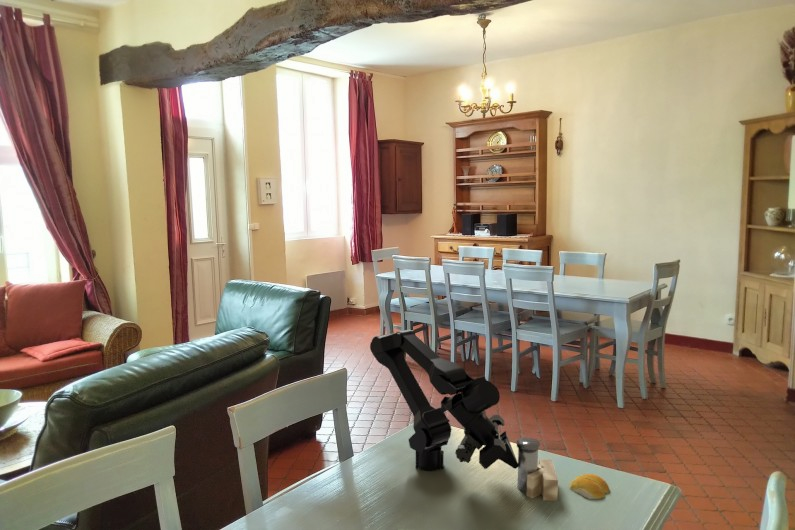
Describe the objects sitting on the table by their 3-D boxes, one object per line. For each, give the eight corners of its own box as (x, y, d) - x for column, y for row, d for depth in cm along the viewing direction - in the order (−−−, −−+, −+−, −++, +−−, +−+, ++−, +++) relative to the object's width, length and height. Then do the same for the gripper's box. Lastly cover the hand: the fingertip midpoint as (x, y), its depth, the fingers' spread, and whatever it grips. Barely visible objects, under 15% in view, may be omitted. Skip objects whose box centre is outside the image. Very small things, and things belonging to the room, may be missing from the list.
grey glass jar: (516, 492, 129) (517, 446, 128) (514, 481, 135) (515, 436, 133) (539, 494, 129) (541, 447, 128) (537, 482, 134) (538, 438, 133)
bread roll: (613, 492, 133) (614, 475, 132) (597, 507, 126) (598, 490, 126) (580, 480, 138) (580, 464, 138) (562, 494, 132) (563, 477, 131)
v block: (527, 499, 127) (527, 478, 126) (523, 477, 137) (523, 458, 136) (557, 501, 126) (557, 480, 125) (551, 479, 136) (551, 459, 135)
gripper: (448, 422, 142) (490, 469, 142) (441, 455, 124) (490, 509, 123) (481, 394, 140) (524, 442, 140) (479, 424, 122) (529, 478, 121)
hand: (516, 467), depth 131 cm, fingers closed, pressing on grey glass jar
